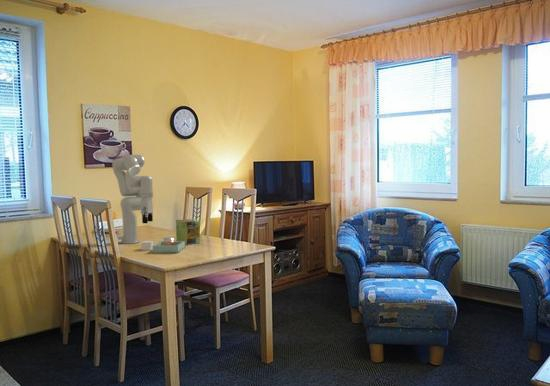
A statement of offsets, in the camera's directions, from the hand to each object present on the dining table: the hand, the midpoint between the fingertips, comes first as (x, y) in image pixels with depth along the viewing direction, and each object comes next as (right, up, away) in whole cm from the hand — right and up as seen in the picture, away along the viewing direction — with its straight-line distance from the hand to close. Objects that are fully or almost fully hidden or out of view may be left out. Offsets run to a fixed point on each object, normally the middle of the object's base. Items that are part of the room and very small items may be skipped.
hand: (147, 222), depth 301 cm
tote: (+15, -18, -4) cm, 23 cm away
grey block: (0, -18, +1) cm, 18 cm away
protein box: (+22, -16, +24) cm, 36 cm away
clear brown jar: (+14, -17, -3) cm, 22 cm away
